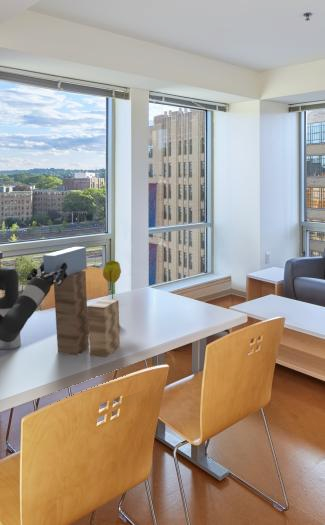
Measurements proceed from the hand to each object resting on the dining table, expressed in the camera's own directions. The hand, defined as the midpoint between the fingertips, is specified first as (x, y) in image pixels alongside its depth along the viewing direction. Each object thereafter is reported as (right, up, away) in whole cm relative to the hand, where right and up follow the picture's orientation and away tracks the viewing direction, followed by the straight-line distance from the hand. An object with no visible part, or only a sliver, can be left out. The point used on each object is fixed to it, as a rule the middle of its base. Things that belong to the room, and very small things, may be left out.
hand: (56, 263), depth 176 cm
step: (+17, -35, +13) cm, 41 cm away
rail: (+3, -4, +7) cm, 9 cm away
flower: (+17, -29, +49) cm, 59 cm away
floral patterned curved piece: (+7, -31, +38) cm, 50 cm away
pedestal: (+4, -35, +15) cm, 38 cm away
